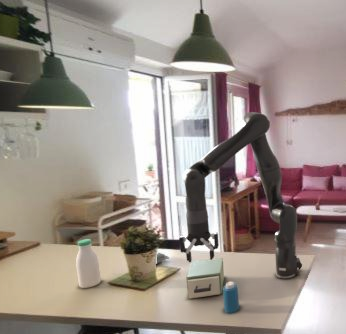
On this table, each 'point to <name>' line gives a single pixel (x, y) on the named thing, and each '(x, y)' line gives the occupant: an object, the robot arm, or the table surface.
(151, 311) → the table surface
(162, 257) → the packaged food
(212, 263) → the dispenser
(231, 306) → the detergent bottle
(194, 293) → the drawer
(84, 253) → the milk bottle
